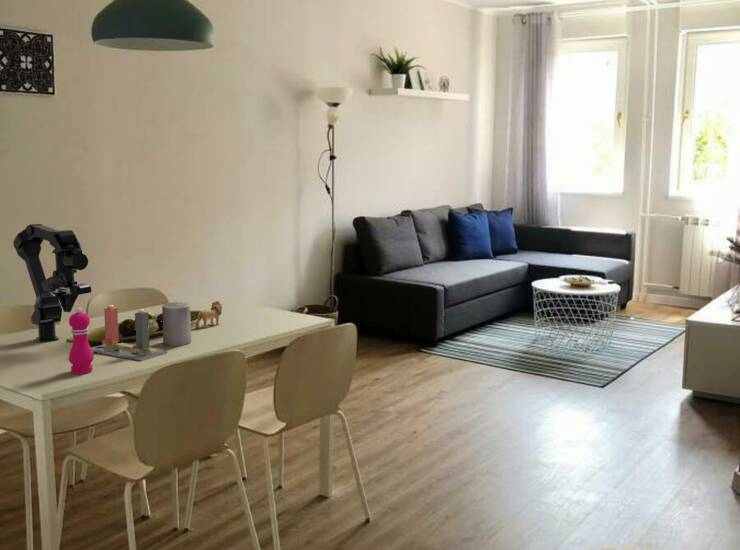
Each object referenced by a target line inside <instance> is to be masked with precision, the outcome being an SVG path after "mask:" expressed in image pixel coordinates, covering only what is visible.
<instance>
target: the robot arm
mask: <svg viewBox="0 0 740 550" xmlns="http://www.w3.org/2000/svg"><path fill="white" fill-rule="evenodd" d="M44 240H45V241H47V242H49V245H50V246H51V247H53V248H54V249H53V250H52V251H51V252H52V254H54V255H55V258H54V259H55V270H53V271H52V276H49V277H48V278H46V273H45V271H44V268H43V266H42V262H41V258H40V254H41V251H42V243H43V241H44ZM81 246H82V244H81V243H80V241H79V240H78V238H77V235H76V234H75V232H74V231H73V230H71V229H59V230H58V229H55V228H52V227H49V226H46V225H44V224H41V223H35V224H34V223H33V224H32V223H31V224H28V225H27V226H26V227H25V229H22V230H21V232H20V231H19V233H17V234H16V236H15V238H14V240H13V248H14V249H15V252H16V253H17V255H18V256H19V258H20V259H22V260H23V261H24V263H25V265H26V268H27V273H28V275H29V278H30V282H31V283H32V288H33V290H34V294H35V297H36V299H35V303H34V305H33V307H34V312H33V313H32V315H31V317H30V321H31V324H33V325H36V326H37V331H38V335H37V337H35V339H36V340H37V341H38V342H39V343H43V342H49V341H51V342H52V341H59V339H60V338H59V337H58V336H57V335H56V332H57V331H56V323H58V322H59V323H60V322H61V321H62V314H63V312H64V313H71V312H72V309H73V307H74V306H75V303H76V301H77V299H78V297H79V296H81V295H85V294H90V293H92V285H90V284H88V283H80V284H79V283H78V281H77V280H75V273H76V274H77V273H78V271H83V270H85V269H86V268H87V266H88V264H89V259H88V257H87V254H85V253H83V249H82V247H81ZM77 270H78V271H77Z"/></svg>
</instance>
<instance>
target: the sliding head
mask: <svg viewBox="0 0 740 550" xmlns="http://www.w3.org/2000/svg"><path fill="white" fill-rule="evenodd" d="M103 311H104V313H103V314H104V315H103V316H104V333H105V336H104V337H105V339H103V340H101V345H103V347H104V348H105V347H106V344H107V343H108V344H115V343H118V342H120V340H119V322H118V321H119V319H118V318H119V317H118V307H114V305H113V304H109V305H107V307H106V308H104V309H103Z"/></svg>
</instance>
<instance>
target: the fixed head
mask: <svg viewBox="0 0 740 550" xmlns="http://www.w3.org/2000/svg"><path fill="white" fill-rule="evenodd" d="M134 321H135V322H134V323H135V324H134V325H135V329H134V330H136V334H135V344H134V346H133V349H134V353H136V349H146V348H149V347H150V330H149V325H150V324H149V312H147V311H145V309H138V311H137V312H134Z"/></svg>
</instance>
